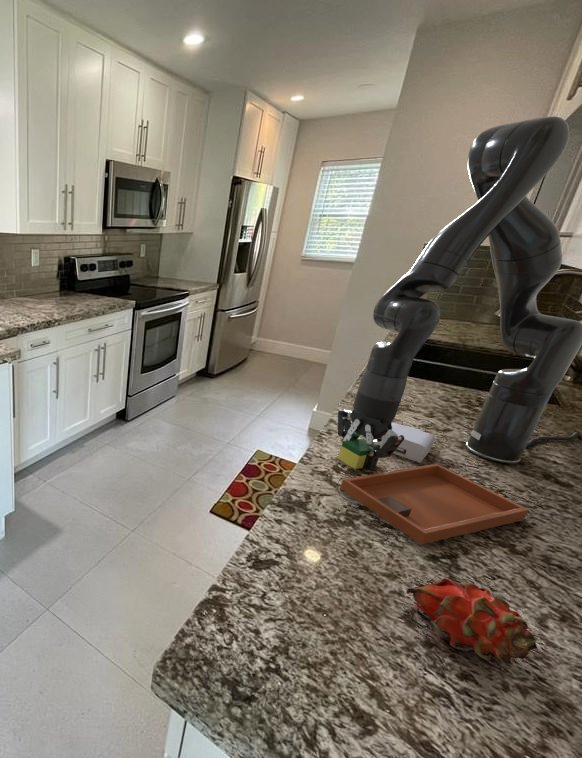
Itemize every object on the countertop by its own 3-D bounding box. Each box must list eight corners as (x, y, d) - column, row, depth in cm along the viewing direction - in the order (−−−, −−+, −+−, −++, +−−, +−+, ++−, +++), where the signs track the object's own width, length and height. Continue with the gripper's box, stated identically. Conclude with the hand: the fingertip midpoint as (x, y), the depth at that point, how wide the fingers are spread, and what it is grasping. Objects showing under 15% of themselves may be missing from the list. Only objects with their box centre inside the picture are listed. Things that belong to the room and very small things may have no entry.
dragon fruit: (527, 692, 48) (399, 632, 57) (536, 621, 51) (413, 575, 60) (541, 676, 43) (398, 613, 52) (549, 599, 46) (414, 552, 55)
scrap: (387, 502, 78) (390, 495, 77) (409, 516, 74) (411, 509, 74) (371, 505, 77) (374, 498, 76) (392, 519, 73) (395, 512, 72)
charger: (435, 445, 101) (419, 465, 92) (390, 431, 108) (372, 448, 98) (442, 428, 99) (427, 446, 90) (396, 414, 106) (378, 430, 97)
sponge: (357, 457, 94) (363, 438, 92) (375, 468, 90) (382, 448, 88) (336, 460, 93) (342, 441, 91) (354, 471, 89) (361, 451, 87)
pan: (432, 474, 88) (436, 463, 87) (522, 522, 74) (529, 509, 74) (339, 491, 82) (342, 479, 81) (419, 547, 68) (425, 533, 67)
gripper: (428, 405, 80) (400, 479, 86) (362, 379, 93) (342, 445, 99) (400, 408, 78) (373, 484, 84) (336, 381, 91) (317, 449, 97)
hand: (356, 462), depth 91 cm, fingers closed on sponge, 4 cm apart
